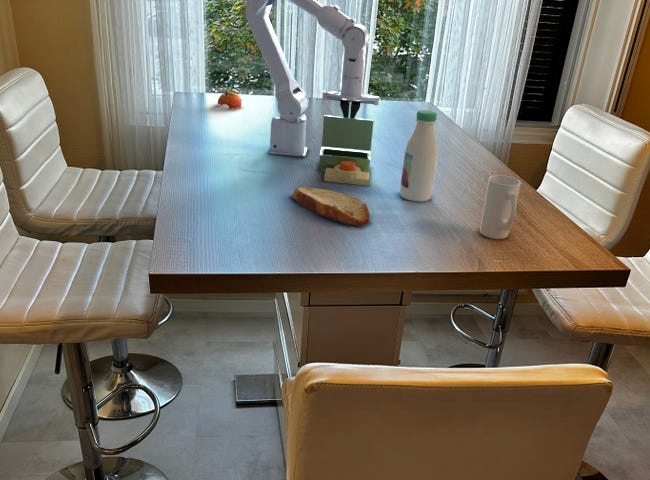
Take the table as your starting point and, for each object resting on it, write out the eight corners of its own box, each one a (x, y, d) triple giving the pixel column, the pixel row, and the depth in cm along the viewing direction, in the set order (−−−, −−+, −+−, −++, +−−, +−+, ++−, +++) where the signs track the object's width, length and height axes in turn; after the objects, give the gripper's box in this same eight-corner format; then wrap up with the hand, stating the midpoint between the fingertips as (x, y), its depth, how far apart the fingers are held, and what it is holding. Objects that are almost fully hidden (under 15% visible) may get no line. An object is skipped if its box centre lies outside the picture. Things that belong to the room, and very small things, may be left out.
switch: (339, 171, 173) (340, 164, 172) (340, 167, 176) (341, 160, 175) (354, 173, 173) (355, 166, 172) (354, 168, 176) (355, 161, 175)
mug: (473, 227, 156) (483, 174, 149) (500, 227, 158) (512, 175, 151) (492, 246, 148) (504, 191, 141) (521, 245, 149) (533, 191, 143)
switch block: (323, 182, 173) (324, 170, 172) (325, 173, 179) (326, 161, 178) (368, 186, 173) (369, 174, 172) (368, 177, 180) (369, 165, 178)
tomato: (217, 97, 232) (231, 82, 228) (233, 112, 235) (247, 98, 231) (212, 106, 226) (227, 91, 222) (229, 122, 229) (243, 107, 225)
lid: (373, 120, 181) (373, 120, 181) (323, 115, 181) (324, 115, 181) (370, 150, 184) (370, 150, 185) (321, 146, 184) (321, 145, 184)
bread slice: (293, 193, 164) (294, 177, 162) (369, 200, 165) (371, 185, 163) (284, 221, 149) (285, 204, 147) (368, 229, 150) (370, 212, 148)
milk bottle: (434, 195, 172) (447, 111, 162) (426, 204, 166) (439, 118, 155) (404, 189, 174) (415, 105, 163) (395, 198, 168) (406, 112, 157)
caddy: (368, 175, 181) (370, 159, 179) (318, 170, 181) (319, 154, 178) (368, 167, 187) (370, 152, 185) (320, 162, 187) (321, 147, 184)
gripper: (323, 76, 176) (319, 131, 183) (380, 82, 176) (375, 136, 183) (325, 71, 182) (321, 124, 189) (380, 76, 182) (375, 130, 189)
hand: (348, 130), depth 186 cm, fingers closed
